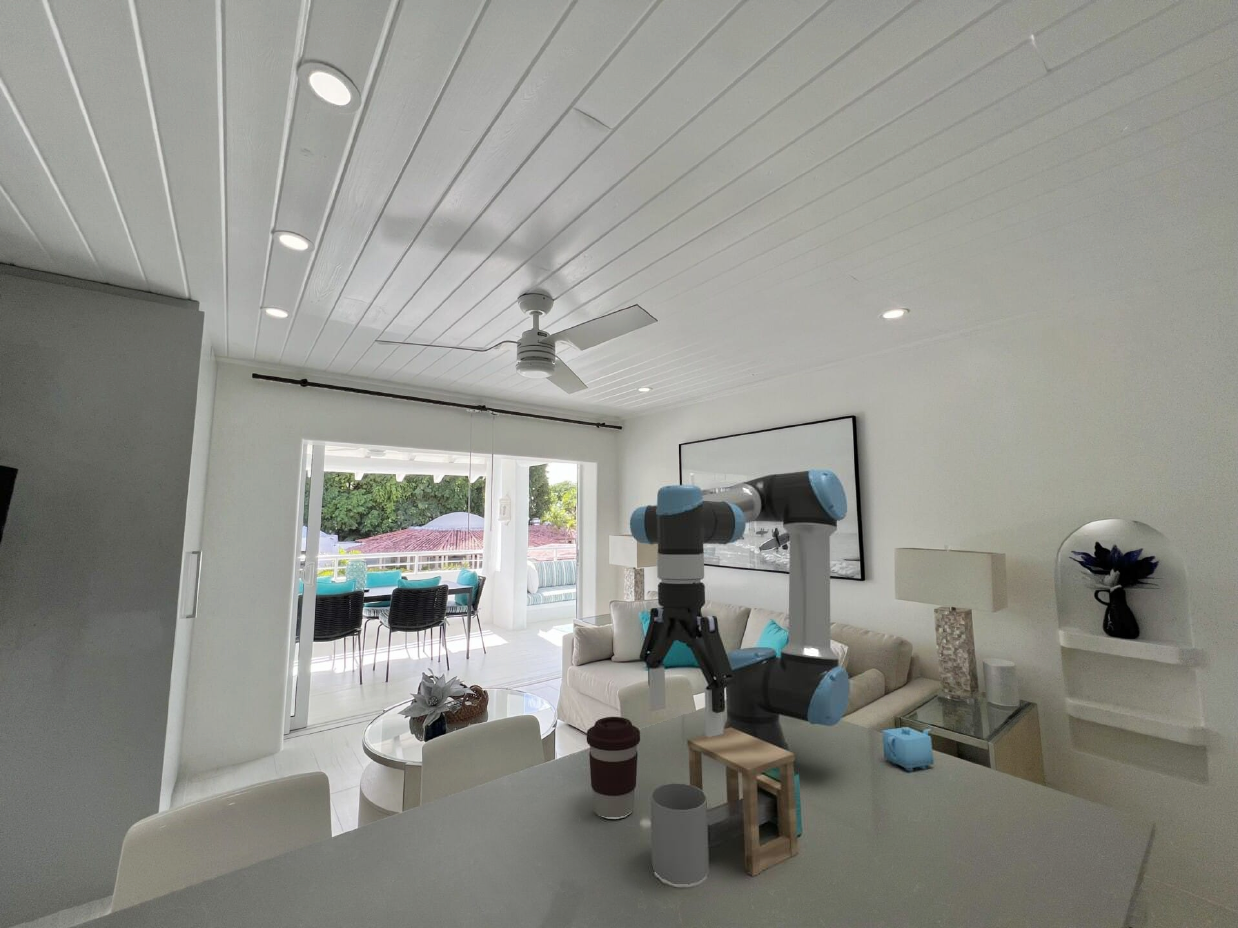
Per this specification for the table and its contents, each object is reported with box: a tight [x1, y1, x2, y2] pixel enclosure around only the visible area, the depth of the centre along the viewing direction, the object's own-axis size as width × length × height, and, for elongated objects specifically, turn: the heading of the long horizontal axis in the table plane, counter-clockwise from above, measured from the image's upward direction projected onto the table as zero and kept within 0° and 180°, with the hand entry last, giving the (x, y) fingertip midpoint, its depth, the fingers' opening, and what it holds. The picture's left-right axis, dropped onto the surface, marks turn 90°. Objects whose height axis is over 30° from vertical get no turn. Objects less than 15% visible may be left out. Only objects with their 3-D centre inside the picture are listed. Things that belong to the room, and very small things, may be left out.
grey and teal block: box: [707, 766, 803, 848], centre depth 83 cm, size 18×8×9 cm, turn 123°
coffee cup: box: [586, 716, 641, 817], centre depth 93 cm, size 10×10×15 cm
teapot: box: [881, 726, 934, 772], centre depth 111 cm, size 12×6×8 cm, turn 107°
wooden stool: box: [686, 727, 799, 877], centre depth 84 cm, size 14×13×14 cm
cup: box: [650, 782, 710, 885], centre depth 76 cm, size 8×8×10 cm
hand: (684, 721), depth 79 cm, fingers open, 13 cm apart
